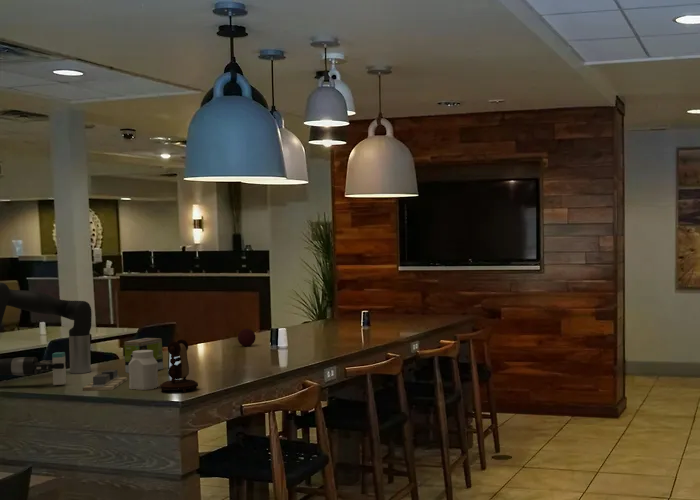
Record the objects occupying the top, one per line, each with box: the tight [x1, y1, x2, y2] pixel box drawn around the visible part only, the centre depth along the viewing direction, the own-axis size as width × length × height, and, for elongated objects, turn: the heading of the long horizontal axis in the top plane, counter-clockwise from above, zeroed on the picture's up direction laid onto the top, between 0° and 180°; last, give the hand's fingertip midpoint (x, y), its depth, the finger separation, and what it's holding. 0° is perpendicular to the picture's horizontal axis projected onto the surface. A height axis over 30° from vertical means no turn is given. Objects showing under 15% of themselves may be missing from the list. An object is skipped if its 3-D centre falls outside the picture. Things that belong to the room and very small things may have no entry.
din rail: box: [92, 368, 120, 387], centre depth 365 cm, size 25×5×4 cm, turn 1°
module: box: [51, 351, 67, 386], centre depth 366 cm, size 4×4×13 cm
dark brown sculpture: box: [159, 338, 199, 393], centre depth 346 cm, size 15×15×20 cm
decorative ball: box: [237, 328, 257, 347], centre depth 491 cm, size 10×10×10 cm
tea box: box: [123, 337, 164, 374], centre depth 403 cm, size 15×10×15 cm
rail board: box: [82, 376, 128, 392], centre depth 365 cm, size 26×12×1 cm, turn 1°
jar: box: [128, 350, 159, 391], centre depth 355 cm, size 12×10×15 cm
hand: (65, 365), depth 367 cm, fingers closed on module, 4 cm apart
